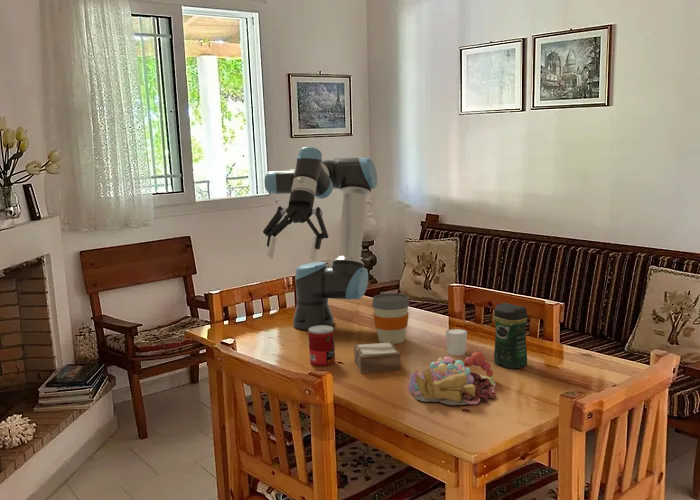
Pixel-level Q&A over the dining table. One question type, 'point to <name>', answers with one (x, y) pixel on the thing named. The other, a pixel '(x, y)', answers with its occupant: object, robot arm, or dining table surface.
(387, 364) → the base
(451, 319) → the dining table surface
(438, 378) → the candy landscape model
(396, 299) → the reusable coffee cup
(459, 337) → the shot glass
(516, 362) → the coffee jar
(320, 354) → the canned food
